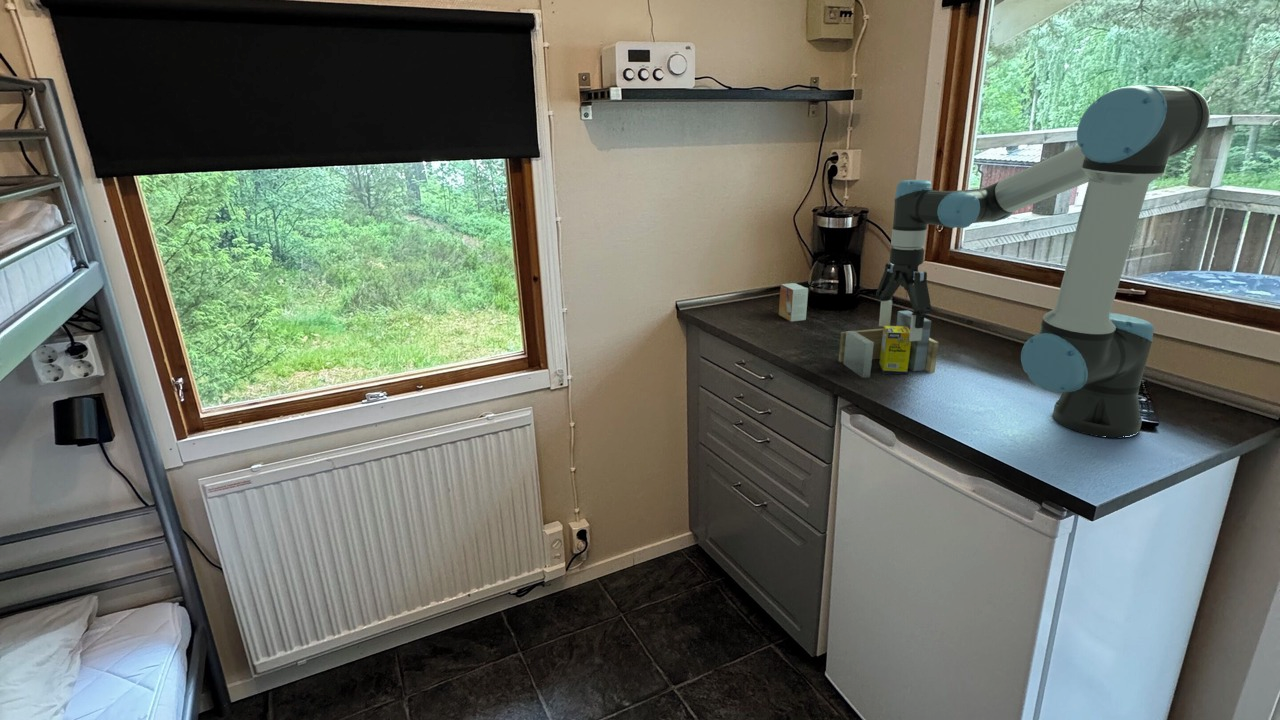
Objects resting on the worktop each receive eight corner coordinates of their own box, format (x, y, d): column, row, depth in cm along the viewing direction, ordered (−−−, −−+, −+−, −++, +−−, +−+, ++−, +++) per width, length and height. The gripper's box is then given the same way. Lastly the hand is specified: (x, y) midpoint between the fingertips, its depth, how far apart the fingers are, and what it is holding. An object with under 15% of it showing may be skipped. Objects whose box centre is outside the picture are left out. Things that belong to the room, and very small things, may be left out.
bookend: (870, 377, 164) (873, 342, 161) (862, 377, 163) (866, 343, 160) (850, 363, 173) (853, 330, 170) (843, 364, 173) (846, 331, 170)
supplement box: (907, 374, 165) (912, 333, 161) (882, 373, 166) (887, 332, 162) (902, 366, 170) (908, 326, 167) (878, 365, 171) (883, 325, 168)
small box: (778, 315, 216) (780, 284, 213) (793, 313, 218) (795, 282, 214) (790, 322, 209) (792, 289, 206) (806, 320, 211) (808, 288, 207)
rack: (934, 372, 166) (941, 322, 161) (864, 379, 163) (870, 328, 158) (903, 354, 178) (909, 308, 174) (838, 360, 175) (842, 313, 171)
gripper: (955, 254, 146) (943, 345, 153) (893, 239, 170) (885, 319, 176) (924, 256, 145) (914, 348, 152) (866, 240, 168) (860, 321, 175)
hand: (899, 332), depth 164 cm, fingers open, 13 cm apart
